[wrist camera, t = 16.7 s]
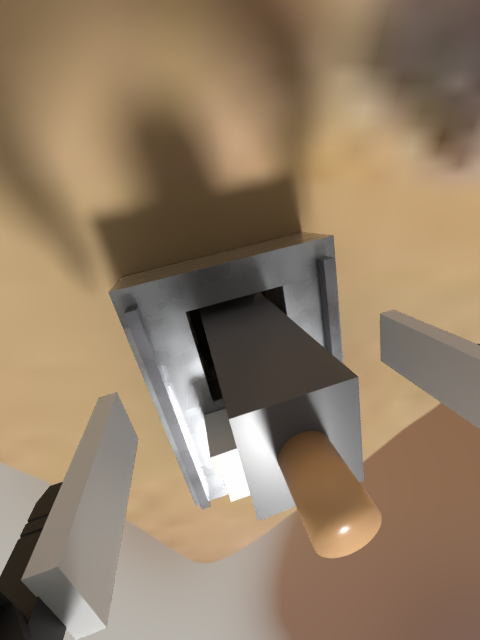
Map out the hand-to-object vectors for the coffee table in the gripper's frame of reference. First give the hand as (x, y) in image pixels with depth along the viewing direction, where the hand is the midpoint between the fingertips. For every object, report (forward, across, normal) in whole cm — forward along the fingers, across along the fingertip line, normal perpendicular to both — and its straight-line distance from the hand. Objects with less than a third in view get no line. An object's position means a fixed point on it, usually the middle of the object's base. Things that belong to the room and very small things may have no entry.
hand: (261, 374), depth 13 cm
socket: (+7, 0, -2) cm, 7 cm away
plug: (+7, 0, 0) cm, 7 cm away
